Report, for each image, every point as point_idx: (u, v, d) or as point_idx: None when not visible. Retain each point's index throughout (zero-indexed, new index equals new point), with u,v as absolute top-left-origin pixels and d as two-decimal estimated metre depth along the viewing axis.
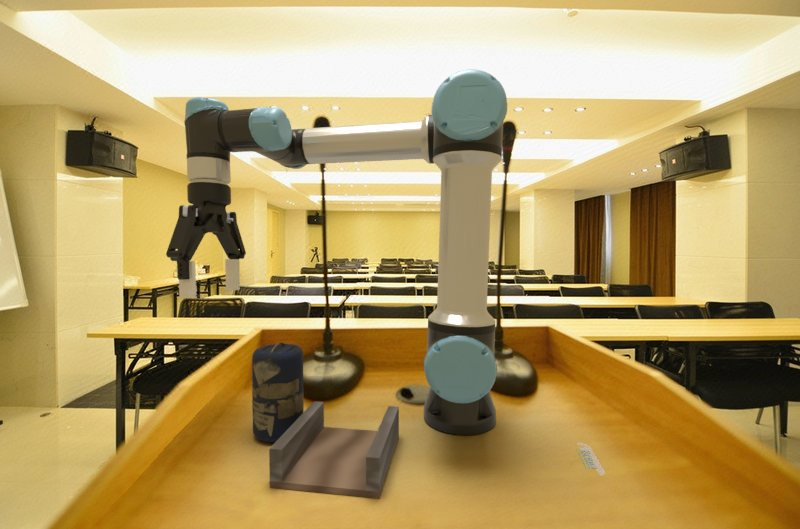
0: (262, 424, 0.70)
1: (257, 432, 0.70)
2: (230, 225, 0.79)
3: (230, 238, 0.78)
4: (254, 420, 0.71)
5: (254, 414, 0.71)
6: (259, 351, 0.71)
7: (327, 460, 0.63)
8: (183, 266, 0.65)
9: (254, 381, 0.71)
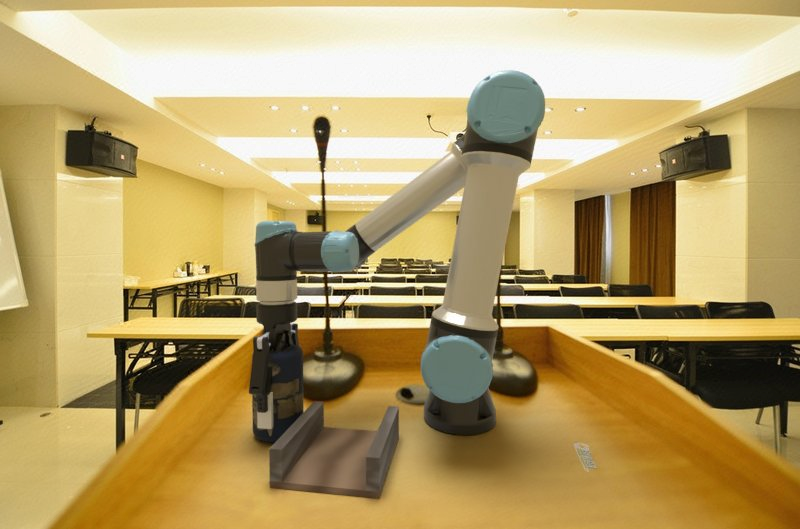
0: None
1: (257, 432, 0.70)
2: (291, 337, 0.79)
3: None
4: (254, 420, 0.71)
5: (254, 414, 0.71)
6: None
7: (327, 460, 0.63)
8: (263, 400, 0.67)
9: None
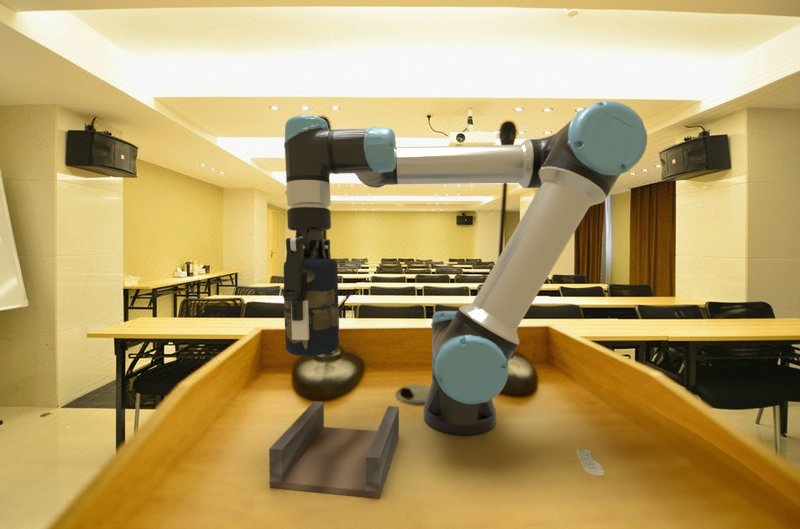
0: None
1: (291, 346, 0.65)
2: None
3: None
4: (287, 334, 0.65)
5: (287, 327, 0.65)
6: None
7: (327, 460, 0.63)
8: (298, 307, 0.62)
9: None
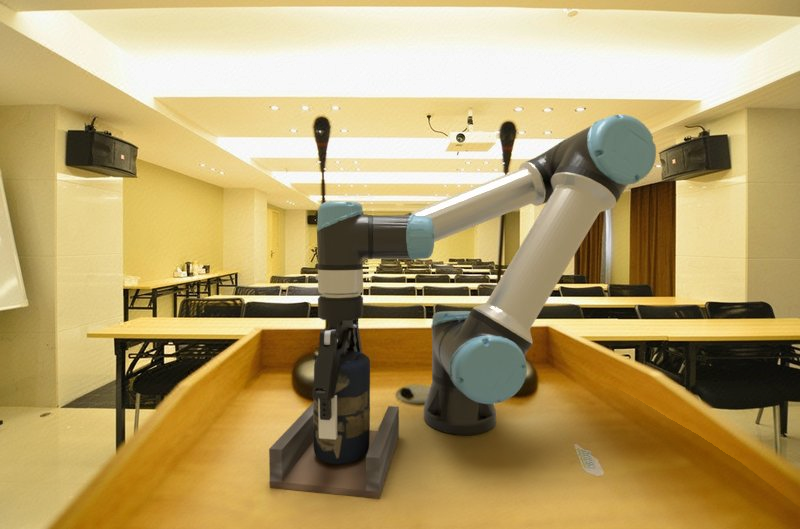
0: (327, 444, 0.60)
1: (321, 453, 0.61)
2: None
3: (355, 348, 0.69)
4: (317, 439, 0.62)
5: (317, 432, 0.62)
6: None
7: None
8: (327, 405, 0.56)
9: None
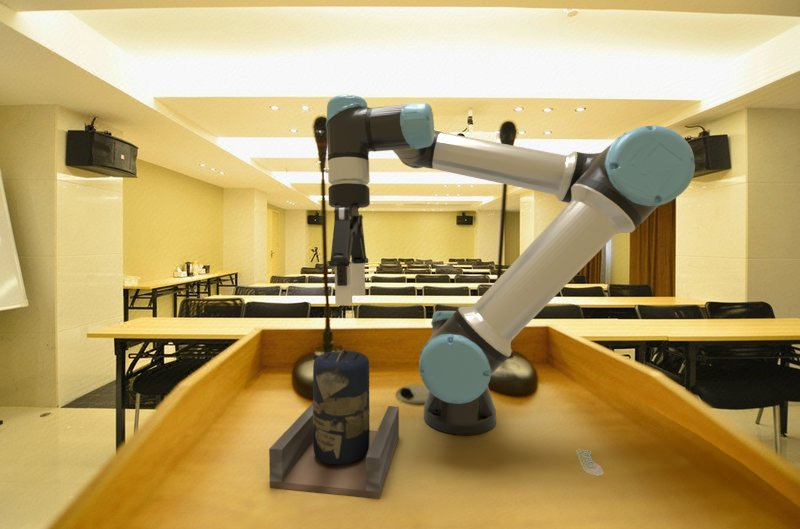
0: (327, 444, 0.60)
1: (321, 454, 0.61)
2: None
3: (361, 242, 0.75)
4: (317, 439, 0.62)
5: (317, 432, 0.62)
6: (322, 360, 0.62)
7: None
8: (344, 272, 0.62)
9: (317, 395, 0.61)
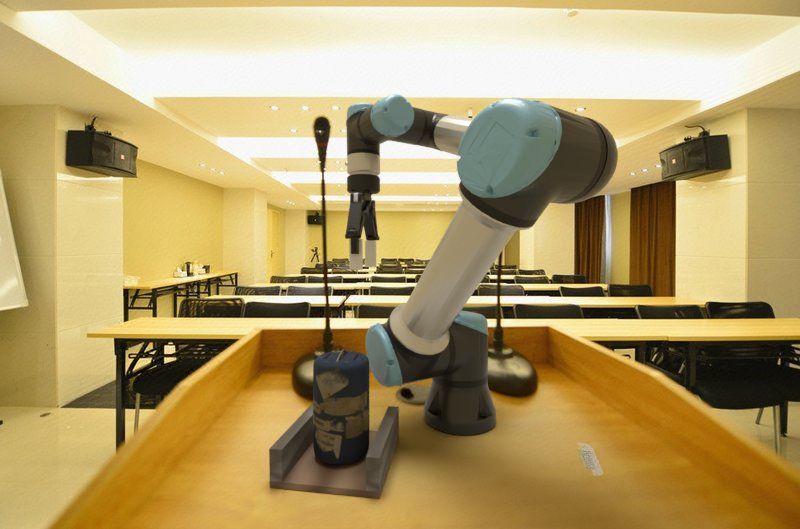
0: (327, 444, 0.60)
1: (321, 454, 0.61)
2: (371, 211, 0.93)
3: (373, 222, 0.92)
4: (317, 439, 0.62)
5: (317, 432, 0.62)
6: (322, 360, 0.62)
7: None
8: (356, 243, 0.79)
9: (317, 395, 0.61)
